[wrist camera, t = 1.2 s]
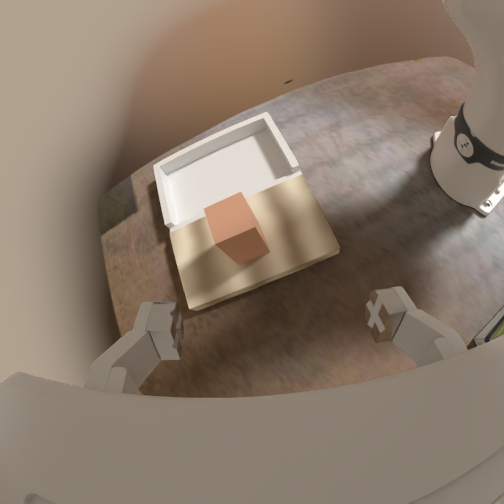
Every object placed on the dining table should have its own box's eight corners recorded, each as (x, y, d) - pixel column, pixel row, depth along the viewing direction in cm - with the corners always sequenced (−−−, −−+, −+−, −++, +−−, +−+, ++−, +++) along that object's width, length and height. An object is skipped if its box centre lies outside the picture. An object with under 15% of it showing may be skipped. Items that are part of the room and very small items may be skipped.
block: (258, 222, 42) (241, 191, 33) (270, 251, 40) (255, 226, 31) (228, 235, 43) (203, 208, 33) (238, 264, 41) (214, 244, 32)
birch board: (304, 183, 46) (302, 174, 43) (338, 253, 41) (340, 247, 38) (177, 238, 48) (169, 233, 45) (197, 310, 44) (189, 309, 41)
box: (271, 125, 51) (267, 111, 47) (304, 183, 46) (302, 170, 42) (162, 175, 53) (153, 165, 50) (177, 238, 48) (166, 231, 44)
